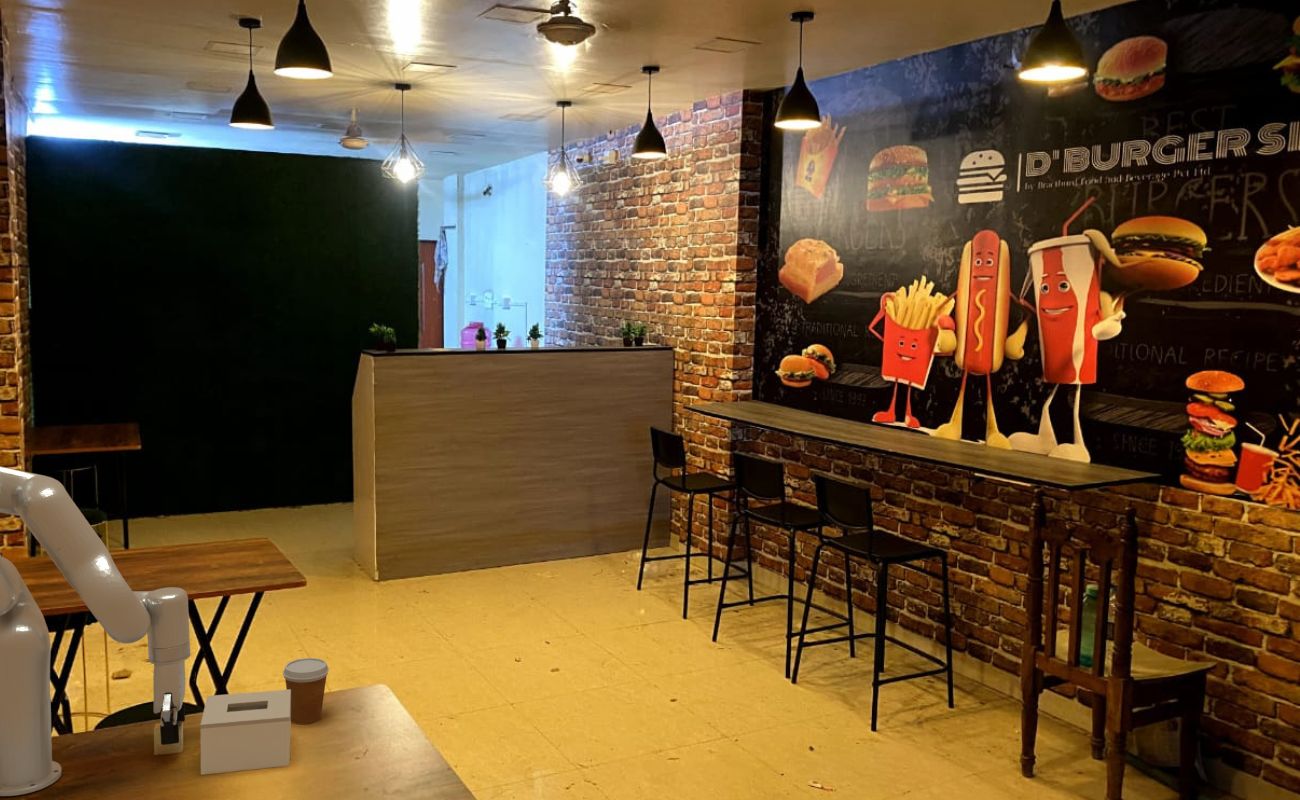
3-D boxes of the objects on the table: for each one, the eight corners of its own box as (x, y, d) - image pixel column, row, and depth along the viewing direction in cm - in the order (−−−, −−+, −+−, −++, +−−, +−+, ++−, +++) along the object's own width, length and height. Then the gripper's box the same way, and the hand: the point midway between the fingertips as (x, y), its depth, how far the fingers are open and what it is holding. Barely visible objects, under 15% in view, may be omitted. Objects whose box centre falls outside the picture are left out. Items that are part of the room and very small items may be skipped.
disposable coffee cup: (314, 730, 217) (314, 675, 215) (273, 724, 219) (273, 670, 217) (336, 712, 226) (337, 660, 225) (297, 707, 228) (297, 655, 226)
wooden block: (154, 755, 203) (153, 728, 202) (155, 749, 205) (155, 723, 204) (181, 752, 204) (181, 726, 204) (183, 747, 207) (182, 721, 206)
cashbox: (200, 774, 196) (200, 724, 194) (207, 742, 209) (207, 695, 208) (289, 765, 201) (289, 717, 199) (290, 735, 214) (290, 689, 213)
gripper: (154, 637, 209) (158, 716, 212) (141, 669, 193) (146, 754, 195) (194, 633, 212) (198, 712, 214) (185, 665, 195) (189, 749, 198)
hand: (173, 732), depth 205 cm, fingers open, 9 cm apart
